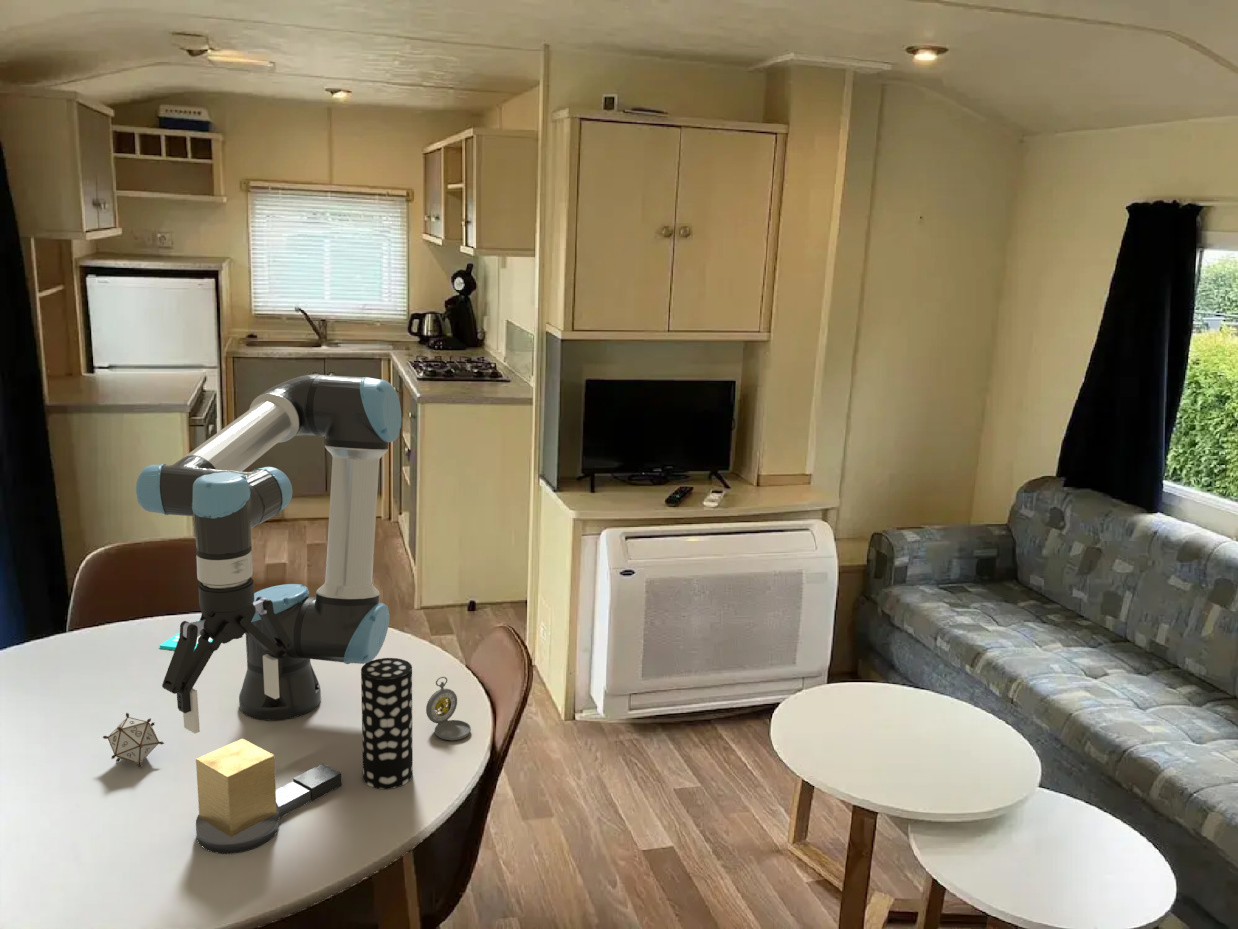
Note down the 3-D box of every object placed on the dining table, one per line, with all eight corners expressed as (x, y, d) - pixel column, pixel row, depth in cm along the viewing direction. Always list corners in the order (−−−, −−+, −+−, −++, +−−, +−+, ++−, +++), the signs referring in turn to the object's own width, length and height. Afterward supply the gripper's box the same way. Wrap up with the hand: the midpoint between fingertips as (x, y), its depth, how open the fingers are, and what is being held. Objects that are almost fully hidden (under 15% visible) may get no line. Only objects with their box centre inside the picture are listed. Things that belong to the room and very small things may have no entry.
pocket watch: (463, 744, 182) (463, 694, 180) (420, 738, 184) (420, 688, 181) (478, 723, 190) (478, 675, 188) (436, 717, 191) (436, 669, 189)
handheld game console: (158, 650, 216) (157, 644, 216) (200, 622, 232) (200, 617, 231) (200, 655, 215) (199, 649, 214) (240, 627, 230) (240, 621, 230)
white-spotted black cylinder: (388, 794, 165) (386, 684, 160) (352, 778, 169) (350, 670, 165) (422, 773, 172) (422, 666, 167) (387, 758, 176) (386, 653, 172)
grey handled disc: (309, 769, 172) (307, 724, 170) (355, 793, 165) (354, 747, 163) (180, 833, 152) (177, 783, 150) (227, 864, 146) (224, 812, 144)
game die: (149, 777, 174) (183, 733, 173) (111, 784, 166) (147, 739, 165) (120, 741, 177) (154, 698, 176) (82, 746, 169) (117, 702, 168)
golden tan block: (199, 817, 152) (195, 759, 150) (245, 795, 159) (242, 738, 156) (230, 837, 148) (227, 777, 146) (276, 813, 154) (274, 755, 152)
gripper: (159, 611, 132) (170, 754, 137) (312, 563, 152) (317, 690, 157) (128, 597, 136) (140, 736, 142) (282, 552, 156) (287, 676, 162)
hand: (233, 712), depth 150 cm, fingers open, 13 cm apart
